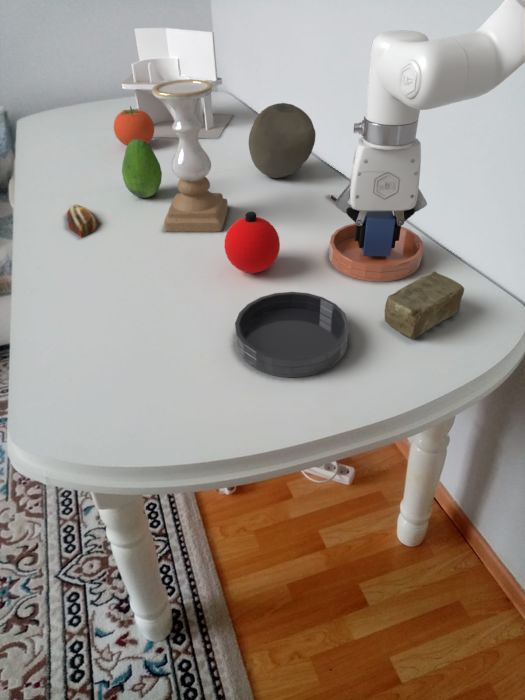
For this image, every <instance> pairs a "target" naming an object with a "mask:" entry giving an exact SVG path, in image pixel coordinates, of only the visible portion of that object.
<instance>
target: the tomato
mask: <svg viewBox="0 0 525 700" xmlns="http://www.w3.org/2000/svg"><path fill="white" fill-rule="evenodd" d="M139 109H140V108H137V107H136V108H134V109H133V108H132V106H131V105H129V109H123V110H121V112H119V113H118V114H117V115H116V117H115V119H114V121H113V132H114V134H115V137H116V138H117V140H118V141H119V142H120V143H122V145H125V146H126V147H127V145H128V144H129V143H130V141H131V140H133V139H140V140H143V141H145V142H146V143H147V144H149V143H150V142H151V140H152V139H153V138H154V137H153V135H154V123H153V121H152V119H151V117H150V116H149V115H148V114H147V113H146V112H144V111H142V110H139Z"/></svg>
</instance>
